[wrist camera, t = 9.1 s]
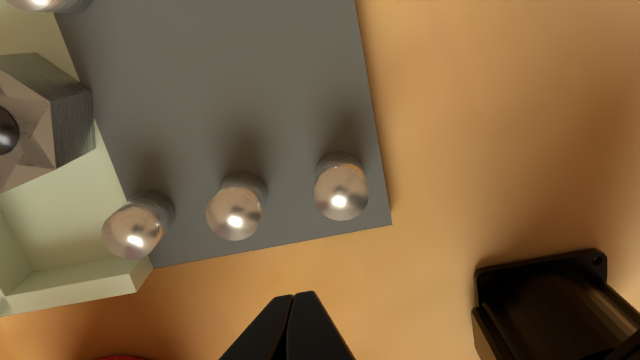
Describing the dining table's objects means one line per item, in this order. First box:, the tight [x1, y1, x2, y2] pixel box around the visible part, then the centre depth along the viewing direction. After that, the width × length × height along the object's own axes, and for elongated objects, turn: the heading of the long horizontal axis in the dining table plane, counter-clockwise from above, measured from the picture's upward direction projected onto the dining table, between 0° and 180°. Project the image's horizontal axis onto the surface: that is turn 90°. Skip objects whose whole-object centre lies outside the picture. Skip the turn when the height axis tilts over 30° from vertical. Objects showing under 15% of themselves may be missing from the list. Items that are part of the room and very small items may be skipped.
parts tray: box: [0, 0, 153, 317], centre depth 18 cm, size 7×16×3 cm, turn 12°
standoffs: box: [5, 0, 369, 260], centre depth 17 cm, size 11×12×3 cm
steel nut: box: [0, 52, 96, 194], centre depth 17 cm, size 5×4×3 cm
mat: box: [53, 0, 392, 269], centre depth 18 cm, size 12×16×1 cm
